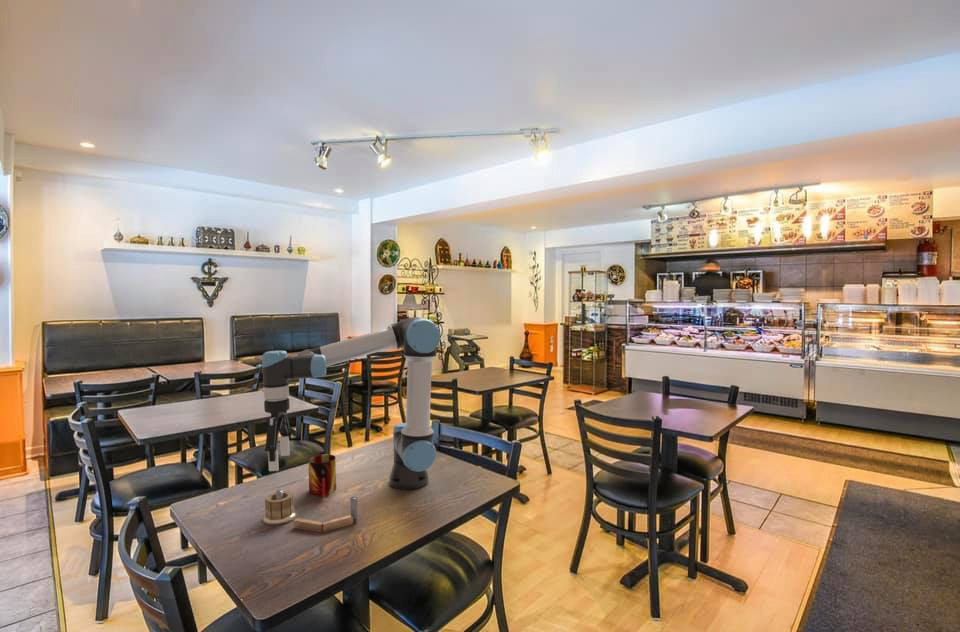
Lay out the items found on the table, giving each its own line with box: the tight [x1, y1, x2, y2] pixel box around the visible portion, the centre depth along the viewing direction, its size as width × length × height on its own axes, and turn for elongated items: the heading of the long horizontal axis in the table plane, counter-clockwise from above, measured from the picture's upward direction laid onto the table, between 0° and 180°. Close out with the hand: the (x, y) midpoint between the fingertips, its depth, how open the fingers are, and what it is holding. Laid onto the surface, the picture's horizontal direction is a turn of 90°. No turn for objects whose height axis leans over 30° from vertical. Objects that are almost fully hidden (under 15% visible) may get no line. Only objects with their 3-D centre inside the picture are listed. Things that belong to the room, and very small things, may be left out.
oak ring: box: [264, 490, 294, 520], centre depth 155 cm, size 8×8×6 cm
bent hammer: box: [293, 496, 358, 533], centre depth 149 cm, size 19×6×8 cm, turn 98°
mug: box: [308, 453, 337, 499], centre depth 175 cm, size 10×14×12 cm
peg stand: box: [262, 489, 297, 526], centre depth 155 cm, size 10×10×9 cm
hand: (279, 462), depth 155 cm, fingers open, 13 cm apart
